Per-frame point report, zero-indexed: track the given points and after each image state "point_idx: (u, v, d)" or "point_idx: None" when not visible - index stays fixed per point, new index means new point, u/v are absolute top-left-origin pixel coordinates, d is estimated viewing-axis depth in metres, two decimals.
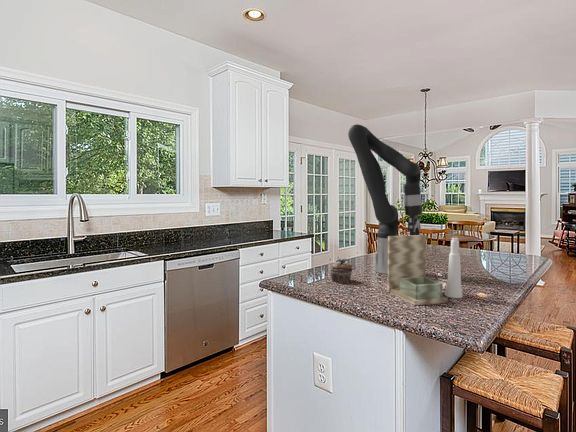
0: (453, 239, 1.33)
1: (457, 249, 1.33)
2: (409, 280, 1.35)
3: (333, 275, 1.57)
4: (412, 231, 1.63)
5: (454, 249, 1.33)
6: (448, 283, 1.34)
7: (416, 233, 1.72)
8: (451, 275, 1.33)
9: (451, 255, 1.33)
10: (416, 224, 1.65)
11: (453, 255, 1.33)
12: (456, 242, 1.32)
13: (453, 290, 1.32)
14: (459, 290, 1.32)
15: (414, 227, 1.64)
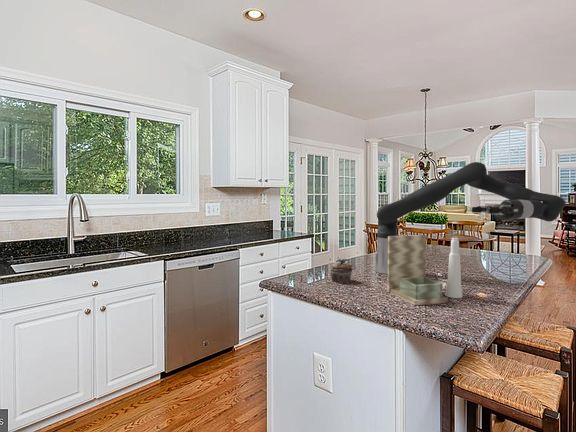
0: (453, 239, 1.33)
1: (457, 249, 1.33)
2: (409, 280, 1.35)
3: (333, 275, 1.57)
4: (502, 211, 1.31)
5: (454, 249, 1.33)
6: (448, 283, 1.34)
7: (478, 209, 1.40)
8: (451, 275, 1.33)
9: (451, 255, 1.33)
10: (502, 214, 1.34)
11: (453, 255, 1.33)
12: (456, 242, 1.32)
13: (453, 290, 1.32)
14: (459, 290, 1.32)
15: (502, 213, 1.32)
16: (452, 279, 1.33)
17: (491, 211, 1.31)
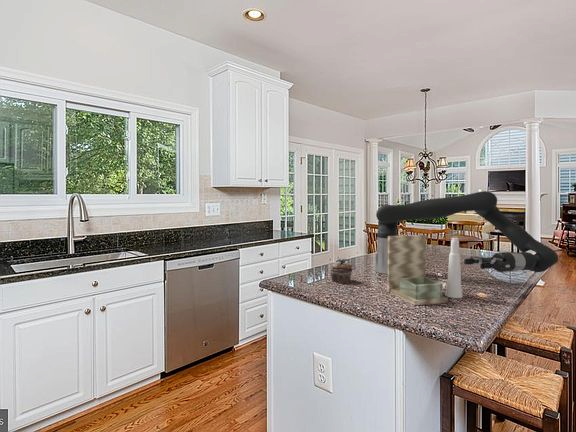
0: (453, 239, 1.33)
1: (457, 249, 1.33)
2: (409, 280, 1.35)
3: (333, 275, 1.57)
4: (493, 267, 1.31)
5: (454, 249, 1.33)
6: (448, 283, 1.34)
7: (470, 261, 1.40)
8: (451, 275, 1.33)
9: (451, 255, 1.33)
10: (494, 268, 1.35)
11: (453, 255, 1.33)
12: (456, 242, 1.32)
13: (453, 290, 1.32)
14: (459, 290, 1.32)
15: (494, 268, 1.33)
16: (452, 279, 1.33)
17: (483, 266, 1.31)
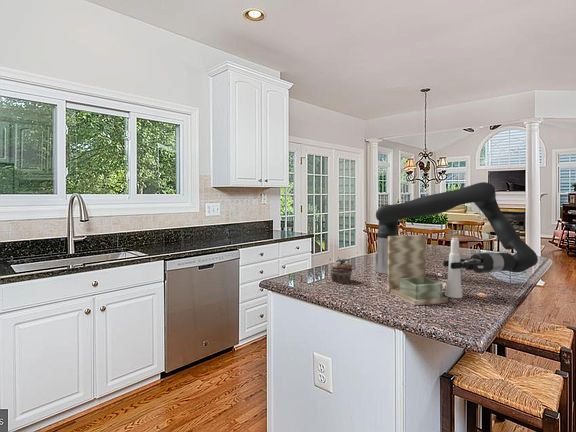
0: (453, 239, 1.33)
1: (457, 249, 1.33)
2: (409, 280, 1.35)
3: (333, 275, 1.57)
4: (464, 267, 1.31)
5: (454, 249, 1.33)
6: (448, 283, 1.34)
7: None
8: (451, 275, 1.33)
9: (451, 255, 1.33)
10: None
11: (453, 255, 1.33)
12: (456, 242, 1.32)
13: (453, 290, 1.32)
14: (459, 290, 1.32)
15: None
16: (452, 279, 1.33)
17: (453, 266, 1.31)
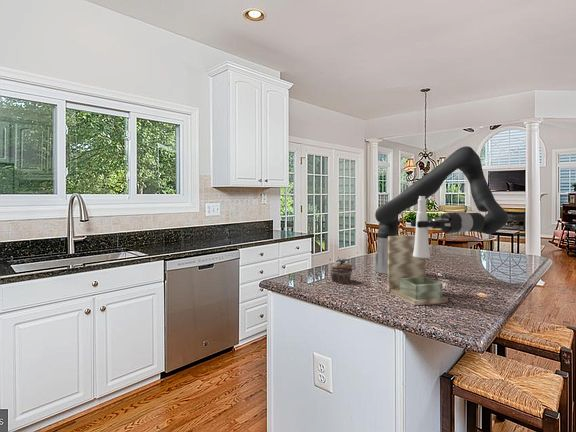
0: (420, 197, 1.29)
1: (424, 207, 1.28)
2: (409, 280, 1.35)
3: (333, 275, 1.57)
4: (430, 225, 1.27)
5: (420, 208, 1.29)
6: (415, 243, 1.30)
7: None
8: (418, 234, 1.29)
9: (418, 214, 1.29)
10: (436, 228, 1.29)
11: (420, 214, 1.28)
12: (423, 200, 1.28)
13: (421, 250, 1.28)
14: (426, 250, 1.28)
15: None
16: (419, 238, 1.29)
17: (420, 225, 1.27)
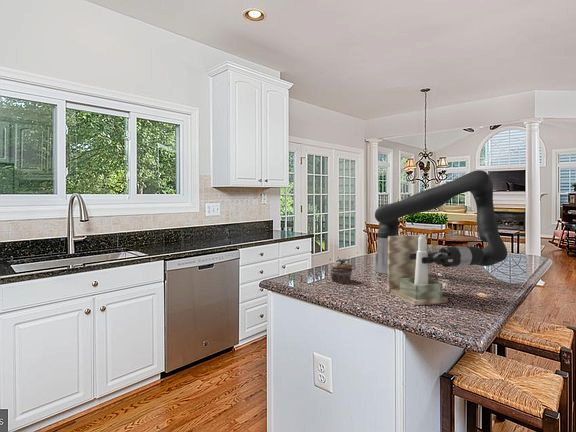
0: (420, 236, 1.30)
1: (424, 246, 1.29)
2: (409, 280, 1.35)
3: (333, 275, 1.57)
4: (435, 261, 1.26)
5: (421, 247, 1.29)
6: (415, 281, 1.31)
7: (415, 256, 1.35)
8: (418, 273, 1.30)
9: (418, 253, 1.30)
10: None
11: (420, 253, 1.29)
12: (423, 239, 1.29)
13: None
14: None
15: (437, 262, 1.28)
16: (419, 277, 1.29)
17: (424, 261, 1.26)
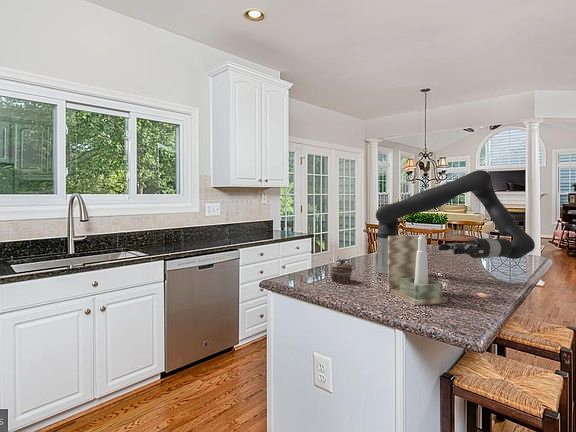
0: (420, 236, 1.30)
1: (424, 246, 1.29)
2: (409, 280, 1.35)
3: (333, 275, 1.57)
4: (467, 252, 1.28)
5: (421, 246, 1.29)
6: (415, 281, 1.31)
7: (445, 247, 1.38)
8: (418, 273, 1.30)
9: (418, 253, 1.30)
10: (468, 254, 1.32)
11: (420, 253, 1.29)
12: (423, 239, 1.29)
13: None
14: None
15: (468, 253, 1.30)
16: (419, 277, 1.29)
17: (456, 252, 1.29)
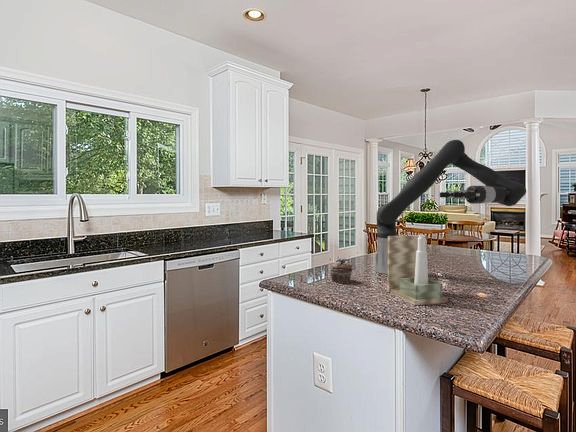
0: (420, 236, 1.30)
1: (424, 246, 1.29)
2: (409, 280, 1.35)
3: (333, 275, 1.57)
4: (465, 195, 1.43)
5: (420, 246, 1.29)
6: (415, 281, 1.31)
7: (445, 194, 1.52)
8: (418, 273, 1.30)
9: (418, 253, 1.30)
10: (466, 198, 1.47)
11: (420, 253, 1.29)
12: (423, 239, 1.29)
13: None
14: None
15: (466, 197, 1.45)
16: (419, 277, 1.30)
17: (455, 195, 1.43)
